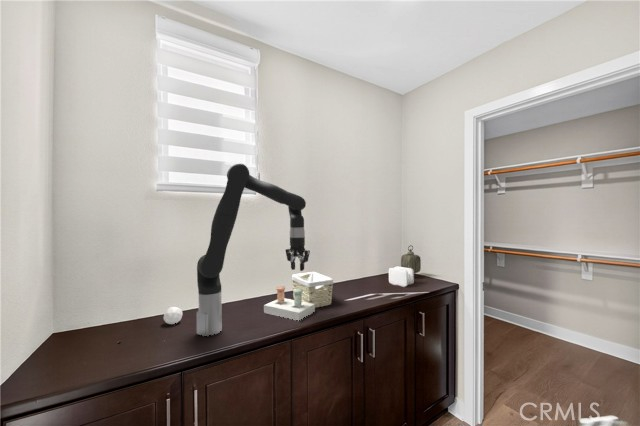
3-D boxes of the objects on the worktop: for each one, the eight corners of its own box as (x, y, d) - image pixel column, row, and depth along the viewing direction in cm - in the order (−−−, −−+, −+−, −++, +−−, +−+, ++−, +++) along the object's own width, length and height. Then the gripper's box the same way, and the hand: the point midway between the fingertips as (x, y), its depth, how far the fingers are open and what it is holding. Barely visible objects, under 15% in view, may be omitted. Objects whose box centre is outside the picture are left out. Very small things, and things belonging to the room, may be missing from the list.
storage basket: (290, 298, 161) (290, 273, 161) (314, 294, 169) (314, 270, 169) (308, 310, 140) (308, 282, 140) (334, 305, 148) (334, 278, 148)
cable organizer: (387, 283, 191) (387, 267, 191) (395, 281, 198) (395, 265, 199) (406, 287, 180) (406, 270, 180) (414, 285, 187) (414, 268, 187)
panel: (298, 321, 126) (298, 312, 126) (264, 312, 137) (263, 305, 137) (314, 311, 138) (314, 304, 138) (281, 304, 149) (281, 297, 149)
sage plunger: (299, 306, 132) (298, 292, 132) (291, 304, 134) (291, 291, 134) (304, 303, 136) (304, 289, 136) (297, 302, 138) (296, 288, 138)
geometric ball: (169, 331, 123) (156, 320, 120) (174, 318, 130) (163, 308, 127) (183, 323, 123) (171, 311, 120) (188, 311, 130) (176, 300, 127)
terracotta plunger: (281, 302, 137) (281, 289, 137) (274, 301, 140) (274, 288, 140) (287, 300, 141) (287, 287, 141) (280, 299, 144) (280, 285, 144)
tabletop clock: (411, 275, 217) (410, 244, 217) (421, 277, 210) (421, 245, 210) (401, 278, 208) (400, 245, 208) (411, 280, 201) (411, 246, 201)
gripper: (281, 236, 135) (281, 270, 135) (304, 237, 128) (305, 273, 128) (290, 235, 142) (290, 267, 142) (313, 236, 135) (313, 270, 134)
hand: (297, 269), depth 135 cm, fingers open, 4 cm apart
